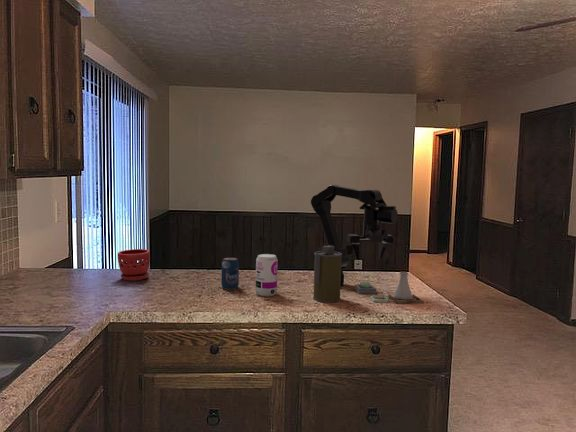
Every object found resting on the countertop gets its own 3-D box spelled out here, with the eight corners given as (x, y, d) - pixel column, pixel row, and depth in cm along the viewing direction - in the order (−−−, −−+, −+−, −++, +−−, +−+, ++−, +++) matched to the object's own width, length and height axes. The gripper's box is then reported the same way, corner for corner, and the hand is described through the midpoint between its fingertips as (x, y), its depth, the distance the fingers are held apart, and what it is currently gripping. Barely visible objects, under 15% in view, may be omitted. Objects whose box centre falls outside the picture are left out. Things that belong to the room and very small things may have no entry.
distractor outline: (374, 302, 178) (374, 300, 178) (369, 297, 184) (369, 295, 184) (389, 302, 179) (390, 300, 179) (384, 297, 185) (384, 295, 185)
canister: (325, 293, 189) (326, 243, 187) (346, 299, 181) (348, 246, 179) (306, 298, 181) (307, 245, 179) (327, 304, 174) (329, 249, 172)
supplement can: (280, 292, 188) (281, 255, 187) (270, 297, 181) (271, 258, 180) (262, 290, 192) (262, 253, 190) (251, 295, 184) (252, 256, 183)
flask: (413, 301, 181) (414, 274, 180) (393, 299, 182) (394, 273, 182) (412, 296, 188) (413, 271, 187) (393, 295, 189) (394, 269, 189)
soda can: (227, 290, 190) (228, 260, 189) (218, 287, 195) (218, 258, 194) (242, 288, 194) (242, 258, 193) (232, 284, 200) (232, 256, 198)
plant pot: (137, 274, 216) (137, 247, 215) (156, 278, 208) (156, 250, 207) (111, 278, 205) (111, 251, 204) (130, 283, 198) (130, 254, 197)
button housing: (358, 293, 190) (359, 288, 190) (354, 289, 197) (354, 284, 197) (376, 293, 191) (376, 288, 191) (371, 289, 198) (371, 284, 198)
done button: (361, 288, 192) (361, 284, 191) (359, 286, 196) (359, 281, 195) (371, 288, 192) (371, 283, 192) (368, 286, 196) (368, 281, 196)
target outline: (396, 303, 177) (396, 300, 177) (388, 296, 187) (388, 294, 187) (423, 303, 178) (423, 300, 178) (413, 296, 188) (413, 293, 188)
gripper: (355, 223, 182) (354, 264, 183) (401, 224, 186) (399, 263, 187) (346, 220, 193) (344, 258, 194) (389, 220, 197) (387, 258, 198)
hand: (369, 260), depth 193 cm, fingers open, 9 cm apart
